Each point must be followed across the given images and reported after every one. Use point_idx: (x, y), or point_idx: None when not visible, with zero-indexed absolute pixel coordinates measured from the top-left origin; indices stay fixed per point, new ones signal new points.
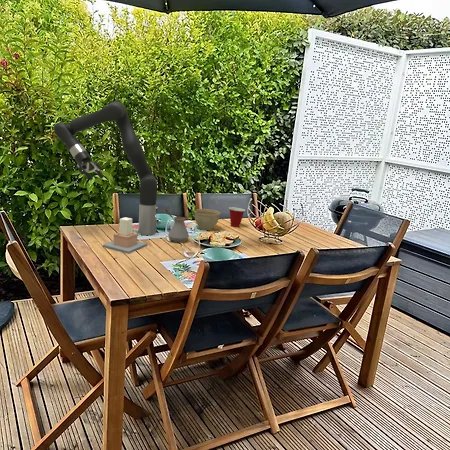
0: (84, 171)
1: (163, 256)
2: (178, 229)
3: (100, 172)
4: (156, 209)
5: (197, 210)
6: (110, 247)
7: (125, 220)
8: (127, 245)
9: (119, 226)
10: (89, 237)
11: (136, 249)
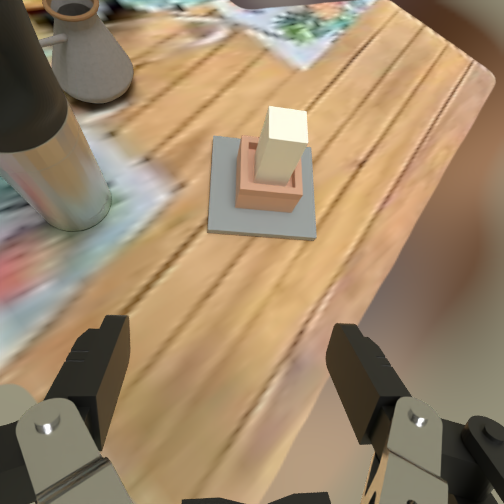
0: (489, 423)
1: (265, 75)
2: (112, 37)
3: (91, 372)
4: None
5: None
6: (314, 209)
7: (306, 118)
8: None
9: (297, 163)
10: (263, 343)
11: None
